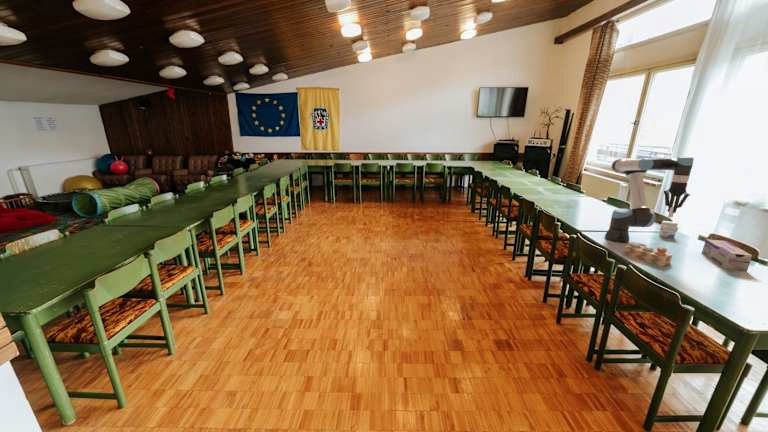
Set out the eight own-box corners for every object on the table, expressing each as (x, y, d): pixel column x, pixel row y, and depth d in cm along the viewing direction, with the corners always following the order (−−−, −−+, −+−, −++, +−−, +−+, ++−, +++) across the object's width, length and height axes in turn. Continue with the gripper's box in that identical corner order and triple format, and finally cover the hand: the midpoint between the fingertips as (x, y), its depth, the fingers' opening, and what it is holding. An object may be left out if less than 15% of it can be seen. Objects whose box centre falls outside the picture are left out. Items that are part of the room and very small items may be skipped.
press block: (622, 254, 213) (624, 246, 211) (630, 251, 217) (632, 243, 216) (662, 266, 194) (664, 257, 193) (670, 263, 199) (672, 254, 197)
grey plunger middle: (639, 257, 207) (642, 246, 205) (643, 255, 209) (646, 245, 207) (648, 259, 203) (650, 249, 201) (651, 258, 205) (654, 247, 203)
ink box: (672, 236, 244) (676, 221, 241) (674, 238, 240) (678, 223, 237) (658, 234, 249) (662, 220, 246) (659, 236, 245) (663, 221, 242)
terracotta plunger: (653, 258, 200) (655, 248, 198) (656, 257, 202) (659, 246, 200) (661, 261, 196) (664, 250, 194) (665, 260, 198) (668, 249, 196)
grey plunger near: (628, 253, 213) (630, 243, 211) (631, 252, 215) (634, 242, 212) (635, 256, 209) (638, 245, 207) (639, 254, 211) (642, 244, 209)
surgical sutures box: (701, 253, 213) (705, 239, 210) (722, 256, 209) (727, 241, 206) (723, 269, 190) (728, 253, 187) (746, 272, 187) (752, 255, 184)
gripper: (664, 180, 202) (655, 215, 209) (690, 183, 191) (680, 220, 198) (669, 179, 205) (661, 213, 212) (695, 182, 194) (685, 218, 201)
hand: (670, 217), depth 205 cm, fingers closed
